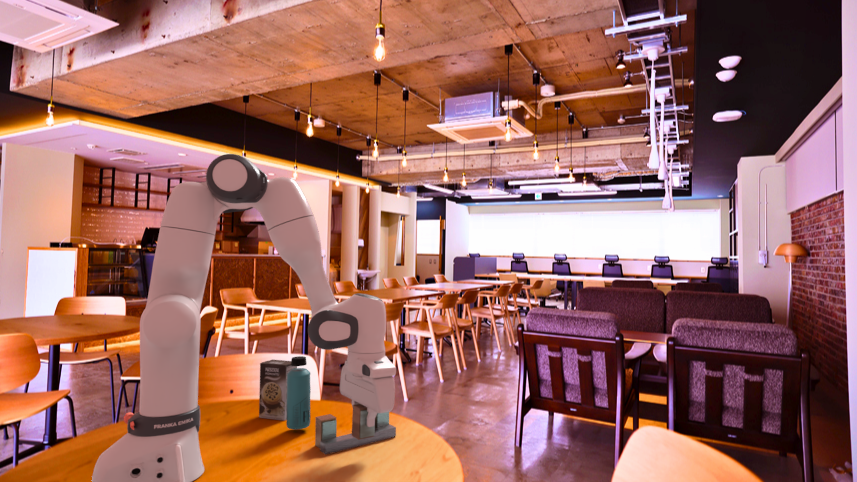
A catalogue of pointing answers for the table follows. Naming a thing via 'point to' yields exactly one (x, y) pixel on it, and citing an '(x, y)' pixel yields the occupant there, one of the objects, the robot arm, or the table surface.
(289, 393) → the beverage bottle
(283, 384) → the coffee box
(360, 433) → the brown-topped upright block
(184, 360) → the robot arm
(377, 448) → the table surface
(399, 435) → the table surface
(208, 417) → the table surface
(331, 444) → the grey block holder
